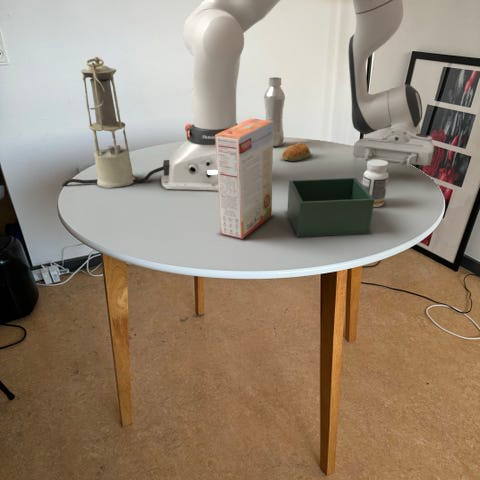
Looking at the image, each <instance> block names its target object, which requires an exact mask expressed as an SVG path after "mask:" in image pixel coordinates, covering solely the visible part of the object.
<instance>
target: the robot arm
mask: <svg viewBox="0 0 480 480" xmlns="http://www.w3.org/2000/svg"><path fill="white" fill-rule="evenodd" d="M280 2H281V0H203V1H202V2H201V3H200V4H199V5H197V7H196V8H195V9H194V10H193V11H192V12H191V13H190V14H189V15H188V17H187V18H186V20H185V22H184V25H183V29H182V35H183V36H182V37H183V41H184V44H185V48H186V49H187V51H188V52H189V53H190V55H192V57H193V79H192V80H193V81H192V89H191V101H192V116H193V118H192V119H193V124H191V123H190V122H189V123H186V124H185V126H184V131H185V132H186V141H185V142H184V143H182V145H180V146H179V147H178V148H177V149H176V150H175V151H174V152H173V153H172V154H171V156H170V157H169V159H163V161H162V163H163V164H162V166H159V167H158V168H154V169H153V170H151V171H149V172H148V173H147V174H146V176H144V177H143V178H139V179H135V180H133V183H132V184H141V183H145V182H146V181H148V180H149V179H150V178H151V177H152V176H153V175H154V174H156V173H159V172H162V171H163V172H162V175H161V181H160V183H161V186H162V187H163V188H164V189H166V190H181V191H182V190H187V191H218V178H217V161H216V144H215V135H216V134H218V133H220V132H222V131H225V130H227V129H229V128H231V127H234V126H236V125H238V124H239V123H238V122H237V87H238V79H239V73H240V64H241V56H242V53H243V50H244V47H245V35H244V33H246V32H247V31H248V30H250V29H251V28H252V27H254V25H256V24H258V23H259V22H260V21H262V20H263V19H264V18H266V17H267V15H268V14H270V12H271V11H272V10H273V9H274V8H275V7H276V6H277V5H278V4H279V3H280ZM352 4H353V9H354V13H355V14H354V15H355V22H356V23H355V30H354V34H352V36H351V37H350V38H349V41H348V53H347V54H348V69H349V70H348V71H349V73H348V74H349V83H350V85H349V86H350V97H351V98H350V99H351V122H352V127H353V129H354V130H355V131H357V132H359V133H361V134H363V135H368V134H372V133H375V132H377V131H380V130H383V129H387V128H390V129H389V130H388V131H387V132H386V134H384V136H383V137H382V138H373V137H363V138H360V139H358V140H357V141H355V142H354V144H353V148H352V156H353V157H355V158H361V159H364V160H365V161H367V162H368V161H369V160H375V159H376V160H384V161H387V162H388V163H390V164H400V163H401V164H402V166H405V167H406V166H407V167H409V166H410V165H418V166H424V167H425V166H427V167H428V166H431V164H432V160H433V156H434V151H435V145H434V143H433V137H432V136H430V135H427V134H422V133H421V125H420V123H421V121H422V120H423V103H422V98H421V96H420V93H419V91H418V90H417V89H416V88H414V87H413V86H412V85H410V84H408V83H407V84H403V85H399V86H396V87H393V88H389V89H386V90H384V91H383V90H382V91H380V92H377V93H373V94H370V93H369V92H368V84H367V83H368V80H367V61H368V59H369V58H370V57H371V56H372V55H373V54H374V53H375V52H376V51H377V50H378V49H380V48H381V47H382V46H384V45H385V44H386V43H387V42H388V41H389V40H390V39H391V38H392V37H394V35H395V34H396V33H397V31H398V30H399V28H400V26H401V24H402V21H403V18H404V5H403V0H352ZM97 181H98V178H97V179H79V178H68V179H67V180H65V181H63V182H62V184H61V187H66V186H67V185H68V184H70V183H78V184H97Z"/></svg>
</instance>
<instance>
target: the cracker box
mask: <svg viewBox="0 0 480 480" xmlns="http://www.w3.org/2000/svg"><path fill="white" fill-rule="evenodd" d="M237 124H238V125H236V126H234V127H231V128H229V129H227V130H225V131H222V132H220V133H218V134H216V135H215V144H216V161H217V178H218V190H217V193H218V212H219V213H218V214H219V227H220V235H223V236H227V237H232V238H237V239H241V240H243V239H244V238H246V237H247V236H248V235H250V234H251V233H252V232H253V231H254V230H256V229H257V228H259V226H261V225H262V224H263V223H264V222H265V221H266V220H268V219H269V218H271V217H272V214H273V163H274V161H273V159H274V158H273V155H274V146H273V121H267V120H266V119H265V120H264V119H259V118H249V119H246V120H245V121H242V122H240V123H237Z"/></svg>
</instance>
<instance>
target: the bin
mask: <svg viewBox="0 0 480 480" xmlns="http://www.w3.org/2000/svg"><path fill="white" fill-rule="evenodd" d="M287 189H288V191H287V192H288V193H287V208H286V209H287V211H286V213H287V215H288V217H289V219H290V221H291V224H292V226H293V228H294V231H295V233H296V236H297V238H308V237H328V236H329V237H331V236H348V235H349V236H350V235H369V234H370V230H371V222H372V216H373V211H374V207H373V206H374V199H373V197H372V196H371V195H370V194H369V193H368V192H367V190H366V189H365V188H364V187H363V186H362V183H361V182H360V181H359V180H358V179H357V178H356V177H339V178H338V177H337V178H313V179H312V178H311V179H290V180H288V188H287Z"/></svg>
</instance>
